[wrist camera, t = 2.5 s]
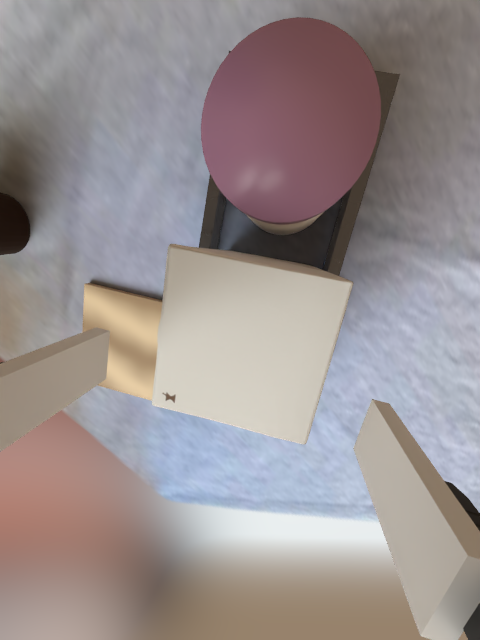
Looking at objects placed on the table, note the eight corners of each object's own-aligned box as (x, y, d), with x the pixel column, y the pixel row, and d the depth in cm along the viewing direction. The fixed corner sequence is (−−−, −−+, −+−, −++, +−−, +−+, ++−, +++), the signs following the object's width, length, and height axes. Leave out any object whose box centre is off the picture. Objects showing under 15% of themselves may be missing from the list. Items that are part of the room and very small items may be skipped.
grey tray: (235, 76, 23) (229, 50, 20) (384, 98, 22) (399, 74, 19) (190, 351, 30) (181, 361, 27) (301, 379, 29) (302, 393, 26)
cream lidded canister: (250, 131, 24) (217, 7, 12) (343, 147, 23) (409, 30, 11) (233, 227, 26) (189, 204, 14) (316, 244, 25) (347, 236, 13)
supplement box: (295, 351, 28) (308, 454, 14) (213, 332, 29) (145, 410, 15) (317, 265, 26) (361, 280, 11) (227, 247, 27) (162, 241, 12)
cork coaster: (89, 282, 30) (84, 283, 29) (191, 307, 29) (188, 308, 28) (85, 377, 33) (80, 380, 32) (176, 402, 32) (173, 406, 31)
